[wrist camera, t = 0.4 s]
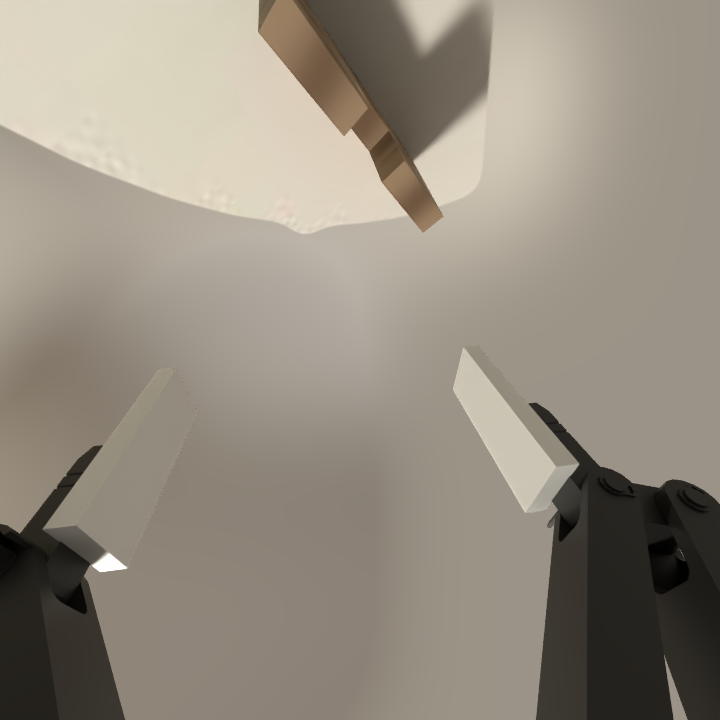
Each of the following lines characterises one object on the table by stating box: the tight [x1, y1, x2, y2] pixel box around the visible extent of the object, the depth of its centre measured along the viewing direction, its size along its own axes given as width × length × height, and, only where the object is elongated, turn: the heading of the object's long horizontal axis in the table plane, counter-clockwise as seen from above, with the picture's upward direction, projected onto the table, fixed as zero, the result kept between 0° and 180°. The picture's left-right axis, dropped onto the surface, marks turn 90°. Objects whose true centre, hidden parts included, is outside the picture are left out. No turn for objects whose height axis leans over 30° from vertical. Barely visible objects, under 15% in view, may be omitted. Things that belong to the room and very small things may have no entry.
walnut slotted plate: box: [258, 0, 443, 232], centre depth 27 cm, size 20×2×12 cm, turn 41°
